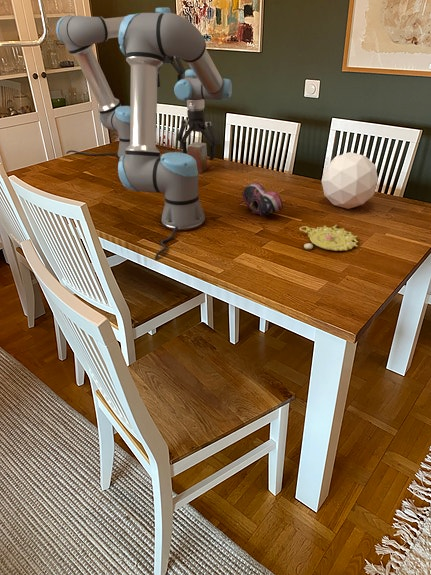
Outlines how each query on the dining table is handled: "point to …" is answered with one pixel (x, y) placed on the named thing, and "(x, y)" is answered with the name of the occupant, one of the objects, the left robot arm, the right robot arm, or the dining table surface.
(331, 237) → the decorative object
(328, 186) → the sphere
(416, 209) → the dining table surface
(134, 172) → the right robot arm
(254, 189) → the athletic shoe
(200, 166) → the block
